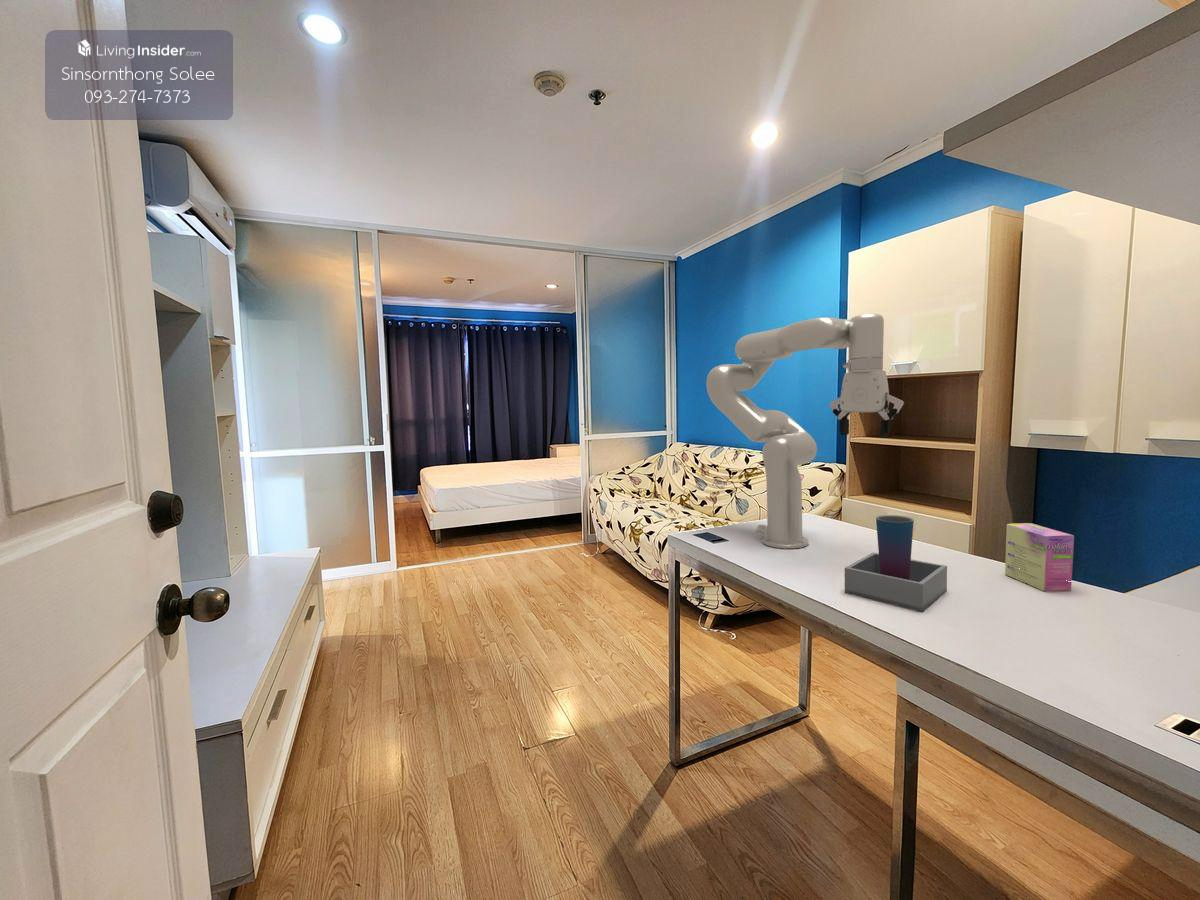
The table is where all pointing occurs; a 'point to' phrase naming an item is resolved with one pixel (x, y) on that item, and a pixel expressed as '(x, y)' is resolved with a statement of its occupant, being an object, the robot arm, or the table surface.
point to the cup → (895, 545)
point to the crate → (897, 583)
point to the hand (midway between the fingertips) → (864, 435)
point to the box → (1039, 556)
